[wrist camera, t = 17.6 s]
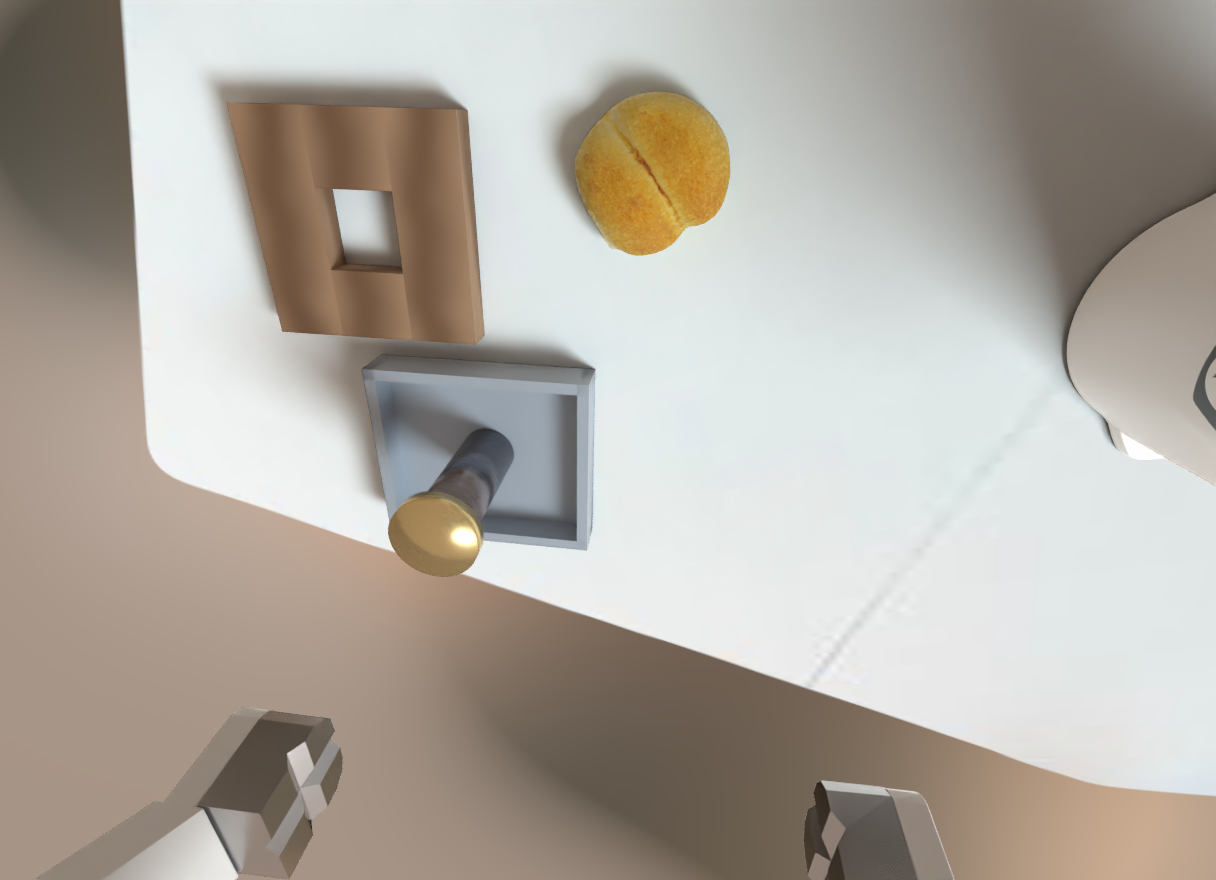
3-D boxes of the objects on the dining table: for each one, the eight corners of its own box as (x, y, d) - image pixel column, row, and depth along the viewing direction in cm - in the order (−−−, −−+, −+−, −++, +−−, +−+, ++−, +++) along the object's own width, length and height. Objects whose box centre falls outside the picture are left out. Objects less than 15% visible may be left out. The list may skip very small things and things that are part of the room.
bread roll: (752, 188, 36) (759, 195, 32) (628, 269, 39) (622, 283, 35) (682, 54, 33) (681, 46, 29) (554, 153, 36) (540, 156, 32)
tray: (595, 369, 42) (588, 385, 39) (592, 527, 49) (586, 550, 46) (381, 354, 43) (361, 369, 41) (406, 510, 50) (391, 531, 47)
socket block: (467, 110, 35) (456, 109, 33) (484, 335, 42) (475, 344, 40) (248, 103, 36) (226, 102, 35) (298, 323, 43) (282, 331, 41)
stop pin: (522, 422, 44) (473, 507, 34) (525, 485, 46) (481, 581, 37) (450, 416, 44) (381, 498, 34) (457, 478, 47) (395, 571, 37)
